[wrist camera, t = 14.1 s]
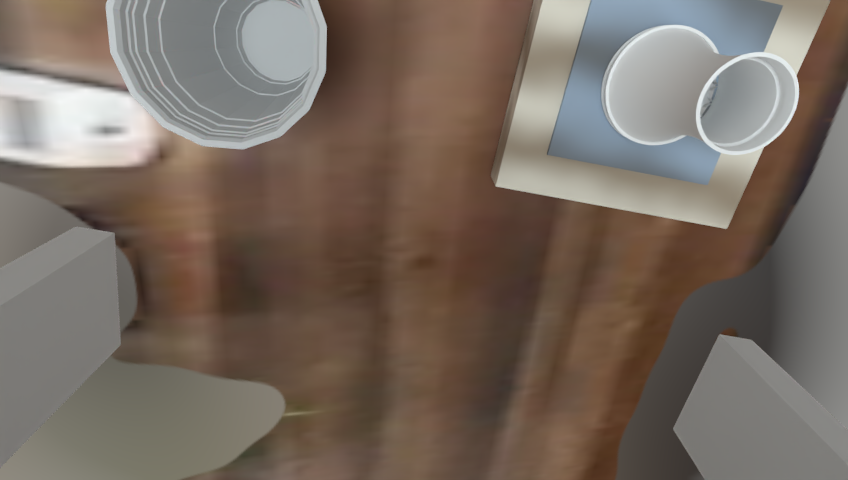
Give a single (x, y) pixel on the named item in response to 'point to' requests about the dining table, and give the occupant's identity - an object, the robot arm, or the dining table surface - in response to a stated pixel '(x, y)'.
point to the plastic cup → (220, 64)
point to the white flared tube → (697, 92)
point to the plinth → (588, 126)
